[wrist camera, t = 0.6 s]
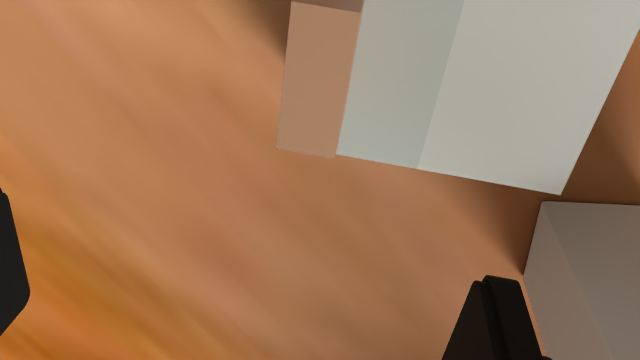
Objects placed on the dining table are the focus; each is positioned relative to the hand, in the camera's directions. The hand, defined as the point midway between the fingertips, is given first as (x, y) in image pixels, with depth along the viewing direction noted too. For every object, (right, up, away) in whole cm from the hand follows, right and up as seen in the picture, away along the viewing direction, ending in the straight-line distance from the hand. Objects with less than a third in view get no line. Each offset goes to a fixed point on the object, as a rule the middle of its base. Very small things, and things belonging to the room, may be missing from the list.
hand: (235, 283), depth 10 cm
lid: (+8, +8, +14) cm, 18 cm away
